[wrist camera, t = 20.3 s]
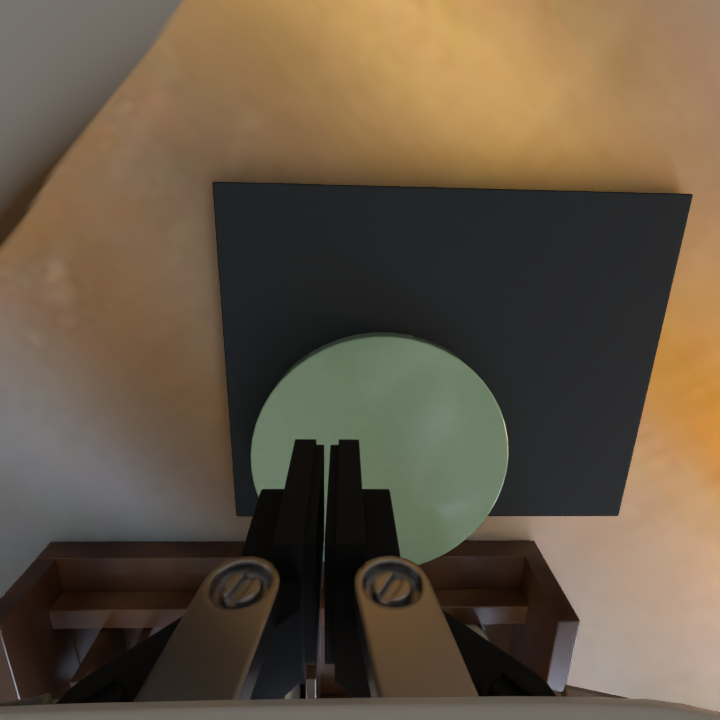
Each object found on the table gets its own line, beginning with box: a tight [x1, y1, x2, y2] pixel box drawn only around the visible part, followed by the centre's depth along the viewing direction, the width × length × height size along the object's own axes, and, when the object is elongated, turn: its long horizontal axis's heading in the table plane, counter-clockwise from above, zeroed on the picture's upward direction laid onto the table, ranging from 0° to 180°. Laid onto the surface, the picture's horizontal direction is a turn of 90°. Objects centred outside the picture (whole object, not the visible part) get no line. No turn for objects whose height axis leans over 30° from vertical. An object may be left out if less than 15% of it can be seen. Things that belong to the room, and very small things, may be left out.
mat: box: [212, 182, 693, 516], centre depth 21 cm, size 20×16×1 cm
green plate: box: [250, 332, 508, 565], centre depth 21 cm, size 1×12×12 cm
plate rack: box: [0, 541, 580, 704], centre depth 24 cm, size 26×13×5 cm, turn 89°
